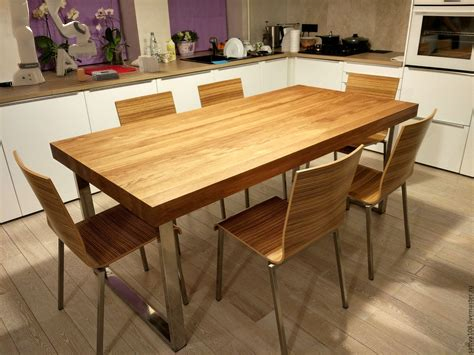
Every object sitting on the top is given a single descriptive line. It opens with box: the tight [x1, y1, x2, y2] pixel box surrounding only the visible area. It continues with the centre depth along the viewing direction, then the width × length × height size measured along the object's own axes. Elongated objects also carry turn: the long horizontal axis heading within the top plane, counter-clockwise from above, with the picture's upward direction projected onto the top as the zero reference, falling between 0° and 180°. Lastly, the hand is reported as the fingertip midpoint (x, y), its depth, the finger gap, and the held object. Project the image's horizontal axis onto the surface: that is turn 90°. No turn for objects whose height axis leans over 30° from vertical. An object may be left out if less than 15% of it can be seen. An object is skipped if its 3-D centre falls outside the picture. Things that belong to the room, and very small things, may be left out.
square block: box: [76, 68, 86, 82], centre depth 289 cm, size 4×4×8 cm
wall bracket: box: [56, 48, 79, 77], centre depth 324 cm, size 22×4×30 cm
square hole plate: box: [91, 69, 120, 81], centre depth 298 cm, size 16×16×4 cm
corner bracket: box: [137, 54, 160, 73], centre depth 318 cm, size 11×11×12 cm
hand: (82, 59), depth 295 cm, fingers open, 8 cm apart
